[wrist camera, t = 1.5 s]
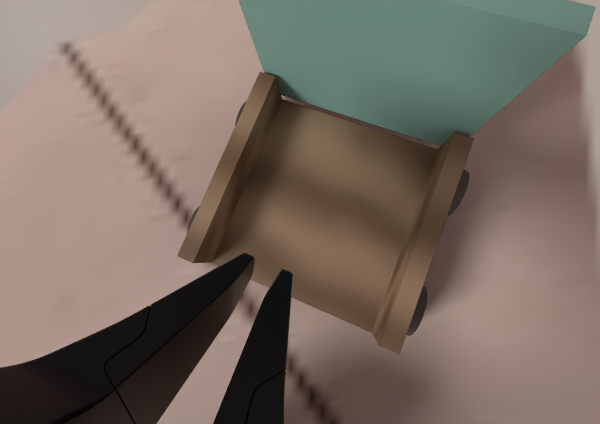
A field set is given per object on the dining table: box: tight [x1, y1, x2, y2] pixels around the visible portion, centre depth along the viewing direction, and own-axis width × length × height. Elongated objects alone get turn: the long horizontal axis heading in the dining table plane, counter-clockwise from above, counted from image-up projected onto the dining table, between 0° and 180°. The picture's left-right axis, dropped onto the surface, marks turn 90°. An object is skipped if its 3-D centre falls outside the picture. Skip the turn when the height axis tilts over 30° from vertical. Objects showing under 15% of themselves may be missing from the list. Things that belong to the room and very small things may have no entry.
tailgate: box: [239, 0, 595, 146], centre depth 17 cm, size 2×15×11 cm, turn 68°
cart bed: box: [178, 72, 474, 354], centre depth 21 cm, size 14×17×6 cm
